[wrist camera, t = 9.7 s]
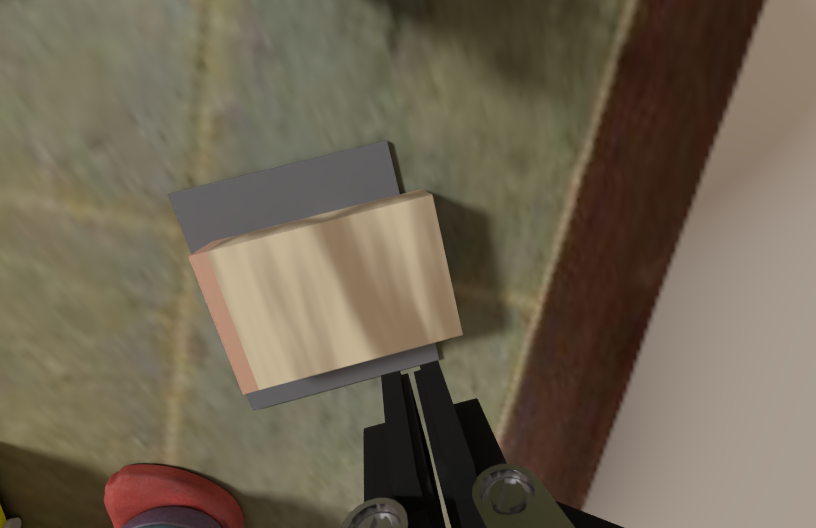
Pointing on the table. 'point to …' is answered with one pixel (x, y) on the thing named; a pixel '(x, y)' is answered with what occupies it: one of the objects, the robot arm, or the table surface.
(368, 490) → the robot arm
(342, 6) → the table surface
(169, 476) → the stacking bear
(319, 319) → the maple block
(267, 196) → the mat
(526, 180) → the table surface
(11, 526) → the yellow toy chassis
